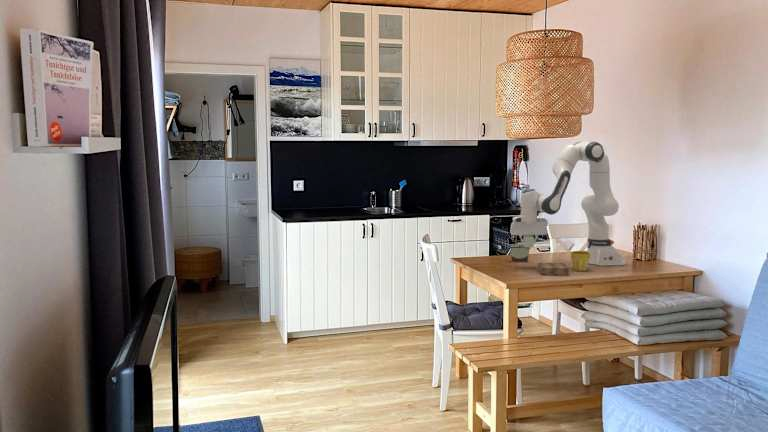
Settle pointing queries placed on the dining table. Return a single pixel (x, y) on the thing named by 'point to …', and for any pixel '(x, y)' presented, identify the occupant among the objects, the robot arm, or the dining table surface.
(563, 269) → the walnut base
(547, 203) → the robot arm
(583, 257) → the plant pot
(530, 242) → the sage block
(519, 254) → the food container
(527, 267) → the dining table surface
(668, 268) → the dining table surface
